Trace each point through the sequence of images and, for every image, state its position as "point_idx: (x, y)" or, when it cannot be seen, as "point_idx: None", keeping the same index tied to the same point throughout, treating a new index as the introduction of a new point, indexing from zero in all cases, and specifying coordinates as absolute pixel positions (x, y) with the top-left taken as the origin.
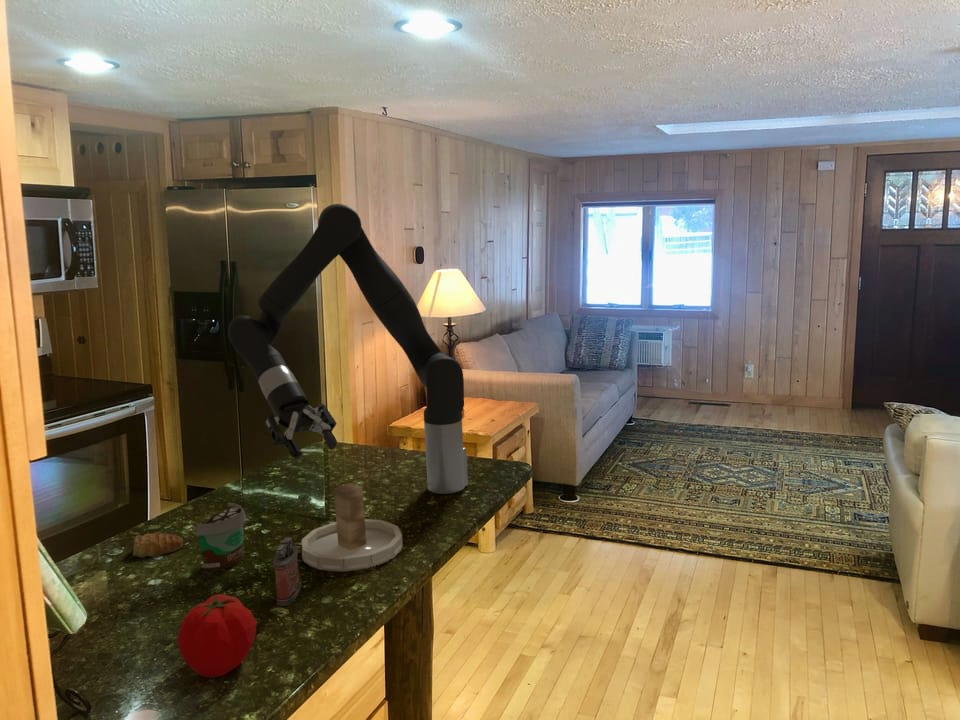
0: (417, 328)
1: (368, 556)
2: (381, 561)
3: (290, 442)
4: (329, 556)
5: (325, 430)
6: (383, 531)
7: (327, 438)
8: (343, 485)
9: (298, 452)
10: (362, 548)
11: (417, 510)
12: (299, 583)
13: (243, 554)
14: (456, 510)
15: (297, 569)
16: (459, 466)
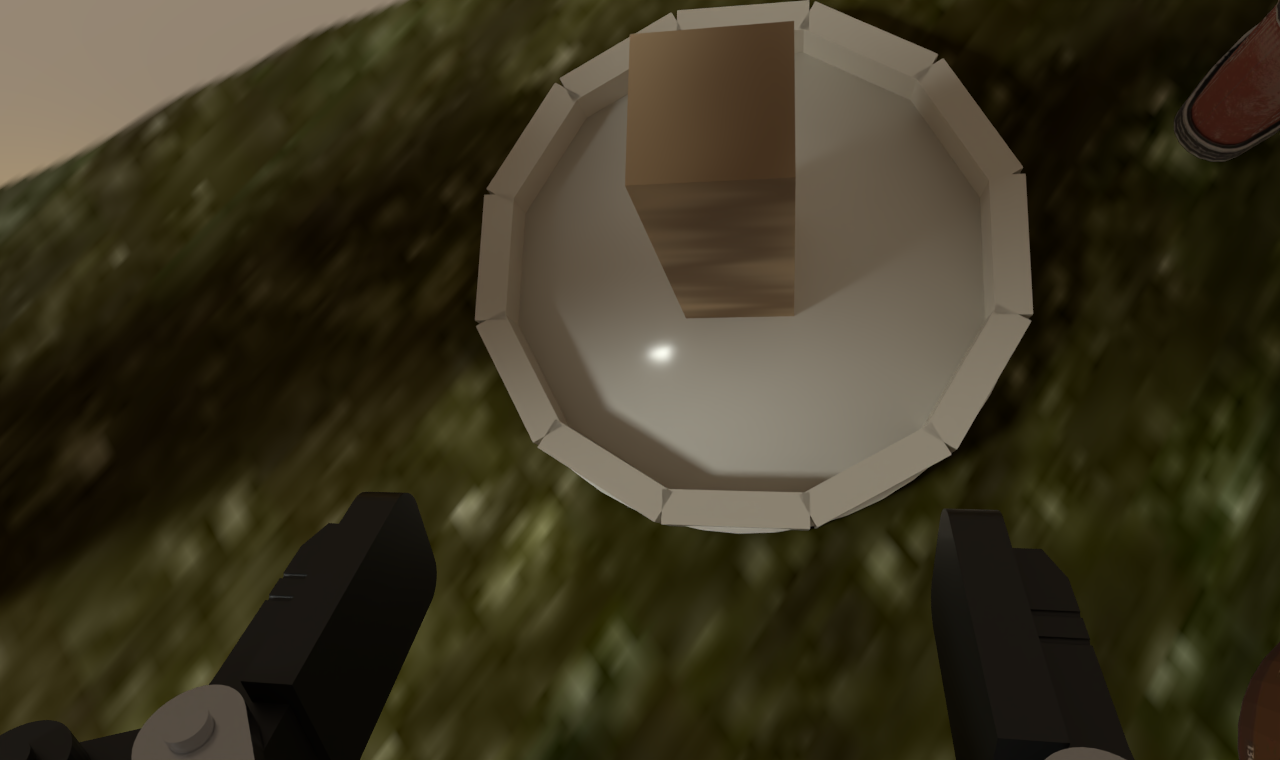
0: None
1: (824, 9)
2: None
3: (1073, 737)
4: (974, 133)
5: (273, 736)
6: (528, 279)
7: (360, 651)
8: (699, 178)
9: (996, 520)
10: None
11: (203, 422)
12: (1202, 85)
13: (1261, 678)
14: (113, 267)
15: (1252, 33)
16: None
